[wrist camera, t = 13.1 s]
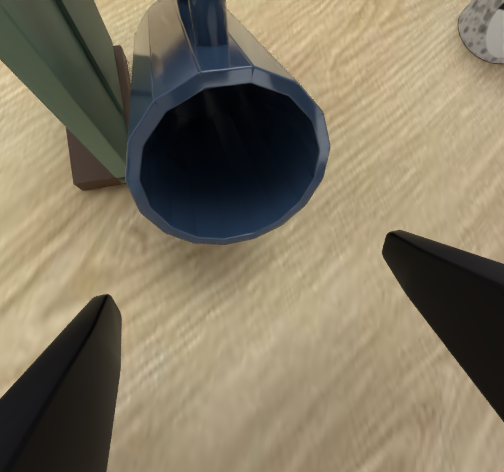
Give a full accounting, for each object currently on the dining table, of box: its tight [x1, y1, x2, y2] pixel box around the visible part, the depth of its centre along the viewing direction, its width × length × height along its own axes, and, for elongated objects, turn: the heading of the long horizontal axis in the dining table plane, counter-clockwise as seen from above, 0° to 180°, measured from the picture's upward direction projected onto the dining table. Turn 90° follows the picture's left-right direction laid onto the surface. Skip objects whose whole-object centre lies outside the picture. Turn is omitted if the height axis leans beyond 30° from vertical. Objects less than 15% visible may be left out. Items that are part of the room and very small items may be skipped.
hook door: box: [0, 0, 131, 190], centre depth 13 cm, size 10×13×16 cm
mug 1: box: [125, 0, 330, 245], centre depth 12 cm, size 12×7×12 cm
